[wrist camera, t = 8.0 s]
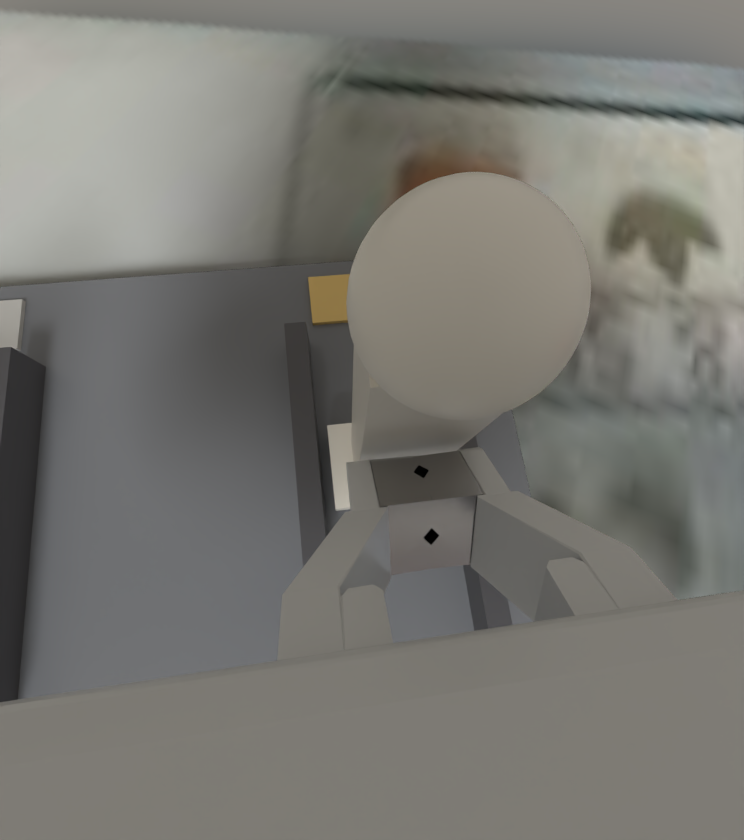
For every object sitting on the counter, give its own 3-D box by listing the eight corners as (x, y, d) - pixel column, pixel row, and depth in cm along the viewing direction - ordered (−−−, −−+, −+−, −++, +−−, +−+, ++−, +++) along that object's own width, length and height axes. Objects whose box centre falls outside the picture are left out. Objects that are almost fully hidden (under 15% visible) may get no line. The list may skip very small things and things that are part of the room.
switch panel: (-257, 892, 13) (-449, 1004, 10) (-135, 318, 18) (-235, 272, 15) (568, 744, 15) (625, 798, 12) (467, 271, 21) (489, 223, 18)
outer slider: (336, 511, 16) (289, 402, 3) (328, 432, 16) (266, 104, 4) (442, 497, 16) (766, 353, 4) (429, 421, 17) (658, 88, 4)
